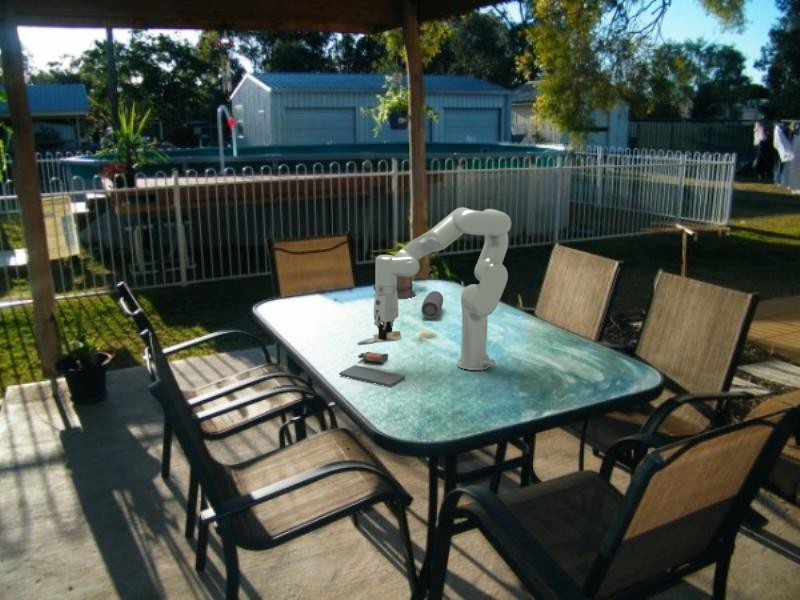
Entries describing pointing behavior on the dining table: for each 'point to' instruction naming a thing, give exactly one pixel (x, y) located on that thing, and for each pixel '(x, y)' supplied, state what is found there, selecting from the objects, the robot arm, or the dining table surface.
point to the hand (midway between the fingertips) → (385, 337)
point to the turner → (390, 337)
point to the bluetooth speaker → (432, 304)
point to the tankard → (404, 287)
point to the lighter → (374, 357)
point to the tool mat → (372, 375)
